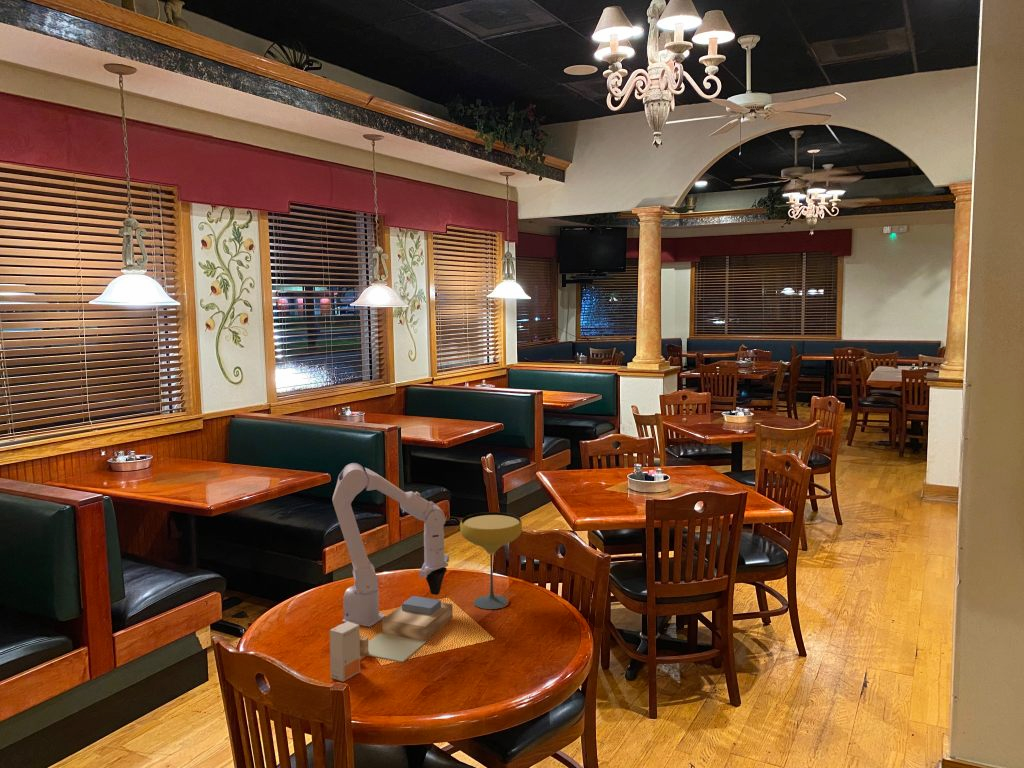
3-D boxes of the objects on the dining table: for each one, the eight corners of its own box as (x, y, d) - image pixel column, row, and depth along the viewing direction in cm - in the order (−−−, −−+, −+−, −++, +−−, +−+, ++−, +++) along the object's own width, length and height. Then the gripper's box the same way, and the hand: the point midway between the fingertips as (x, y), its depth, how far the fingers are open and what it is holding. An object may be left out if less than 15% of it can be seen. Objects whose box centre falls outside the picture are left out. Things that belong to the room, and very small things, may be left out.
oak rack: (338, 660, 190) (337, 644, 189) (352, 650, 195) (351, 634, 195) (355, 664, 188) (354, 647, 187) (368, 653, 193) (368, 637, 193)
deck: (382, 633, 205) (382, 619, 205) (412, 611, 220) (411, 597, 219) (425, 641, 200) (425, 626, 200) (452, 617, 215) (452, 604, 215)
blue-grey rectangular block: (402, 610, 210) (401, 603, 210) (412, 602, 216) (412, 595, 216) (430, 615, 207) (430, 608, 207) (441, 607, 213) (441, 600, 212)
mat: (354, 653, 194) (354, 652, 194) (380, 634, 205) (380, 633, 205) (402, 662, 189) (402, 661, 189) (426, 642, 200) (426, 641, 200)
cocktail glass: (448, 604, 225) (447, 521, 222) (489, 586, 238) (488, 508, 236) (494, 620, 213) (493, 533, 210) (534, 601, 227) (534, 519, 224)
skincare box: (343, 682, 179) (341, 633, 178) (330, 678, 181) (328, 629, 180) (361, 672, 184) (360, 624, 183) (348, 667, 186) (346, 620, 185)
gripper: (434, 557, 209) (435, 605, 211) (458, 541, 222) (458, 586, 224) (412, 554, 212) (413, 601, 213) (436, 539, 225) (437, 583, 227)
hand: (435, 593), depth 219 cm, fingers closed
